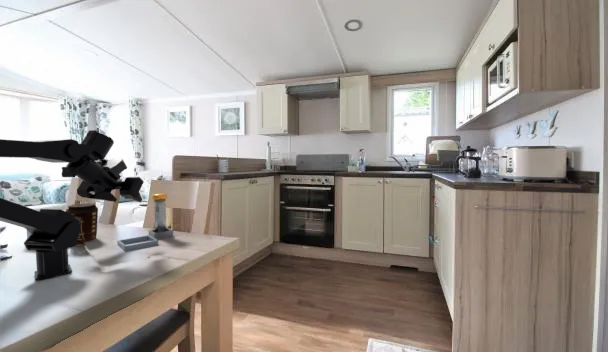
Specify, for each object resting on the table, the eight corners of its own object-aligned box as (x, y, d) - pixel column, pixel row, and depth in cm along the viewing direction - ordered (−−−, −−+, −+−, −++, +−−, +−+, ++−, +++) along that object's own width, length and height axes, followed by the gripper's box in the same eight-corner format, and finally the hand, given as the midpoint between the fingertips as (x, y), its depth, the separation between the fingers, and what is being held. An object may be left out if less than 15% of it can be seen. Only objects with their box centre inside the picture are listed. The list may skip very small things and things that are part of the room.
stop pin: (170, 236, 97) (168, 194, 96) (156, 238, 94) (154, 195, 93) (165, 233, 100) (164, 193, 99) (151, 236, 97) (150, 194, 96)
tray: (158, 248, 87) (158, 240, 87) (124, 255, 81) (124, 246, 81) (149, 242, 93) (149, 235, 93) (117, 248, 87) (117, 240, 87)
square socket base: (180, 238, 98) (180, 229, 97) (155, 243, 92) (155, 234, 92) (170, 234, 104) (170, 225, 104) (147, 238, 98) (146, 229, 98)
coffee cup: (72, 241, 95) (70, 203, 95) (102, 238, 99) (100, 202, 98) (63, 248, 87) (61, 207, 87) (96, 245, 91) (94, 205, 90)
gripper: (134, 150, 81) (163, 179, 93) (78, 151, 84) (114, 180, 96) (116, 182, 74) (150, 209, 87) (57, 182, 77) (98, 208, 90)
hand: (128, 200), depth 90 cm, fingers open, 9 cm apart
